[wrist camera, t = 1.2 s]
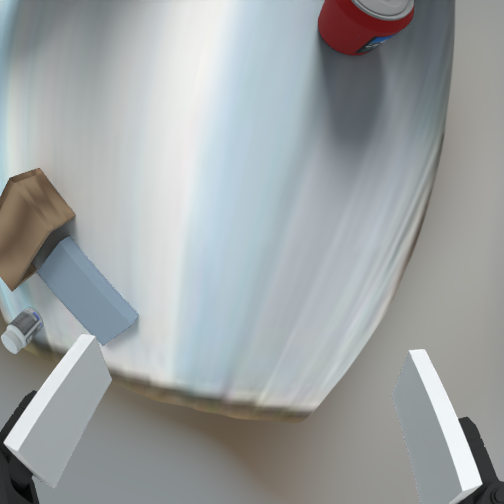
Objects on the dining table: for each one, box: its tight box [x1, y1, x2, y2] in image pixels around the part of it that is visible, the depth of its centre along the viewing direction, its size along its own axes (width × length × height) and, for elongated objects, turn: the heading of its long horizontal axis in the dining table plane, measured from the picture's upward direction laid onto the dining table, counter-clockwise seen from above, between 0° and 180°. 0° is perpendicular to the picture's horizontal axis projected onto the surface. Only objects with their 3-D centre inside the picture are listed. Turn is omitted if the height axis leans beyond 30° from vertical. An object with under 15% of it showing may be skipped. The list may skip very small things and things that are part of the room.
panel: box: [37, 236, 139, 345], centre depth 40 cm, size 15×8×3 cm, turn 37°
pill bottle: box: [1, 307, 43, 354], centre depth 41 cm, size 5×5×8 cm
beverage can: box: [318, 0, 414, 55], centre depth 20 cm, size 7×7×12 cm
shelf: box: [0, 168, 75, 291], centre depth 34 cm, size 9×15×6 cm, turn 129°
